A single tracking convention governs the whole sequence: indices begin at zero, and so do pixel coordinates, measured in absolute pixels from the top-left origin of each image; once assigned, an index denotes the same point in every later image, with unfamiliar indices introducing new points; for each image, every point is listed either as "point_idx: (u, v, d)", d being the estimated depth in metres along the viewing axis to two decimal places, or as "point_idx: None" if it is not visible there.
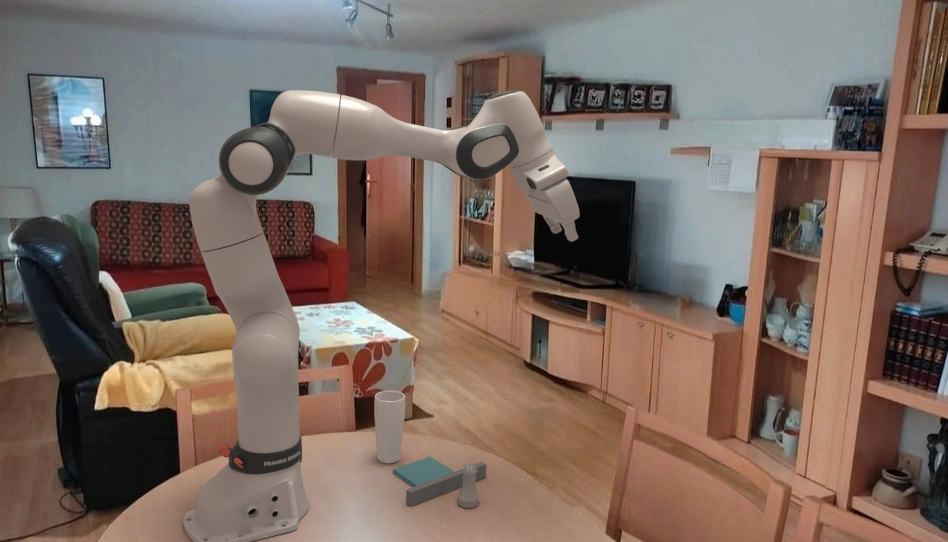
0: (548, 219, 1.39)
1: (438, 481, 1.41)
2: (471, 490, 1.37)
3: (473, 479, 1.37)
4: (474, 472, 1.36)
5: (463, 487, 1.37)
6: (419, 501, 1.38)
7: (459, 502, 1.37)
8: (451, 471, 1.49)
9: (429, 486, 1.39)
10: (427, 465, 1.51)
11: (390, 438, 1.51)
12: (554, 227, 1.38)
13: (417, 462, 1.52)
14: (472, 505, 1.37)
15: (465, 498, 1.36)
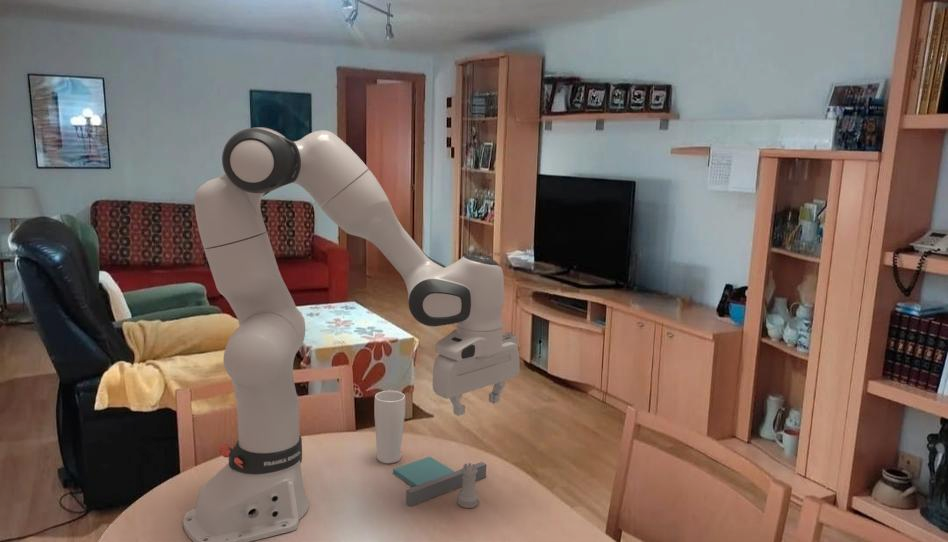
0: (495, 386, 1.38)
1: (438, 481, 1.41)
2: (471, 490, 1.37)
3: (473, 479, 1.37)
4: (474, 472, 1.36)
5: (463, 487, 1.37)
6: (419, 501, 1.38)
7: (459, 502, 1.37)
8: (451, 471, 1.49)
9: (429, 486, 1.39)
10: (427, 465, 1.51)
11: (390, 438, 1.51)
12: (490, 396, 1.38)
13: (417, 462, 1.52)
14: (472, 505, 1.37)
15: (465, 498, 1.36)
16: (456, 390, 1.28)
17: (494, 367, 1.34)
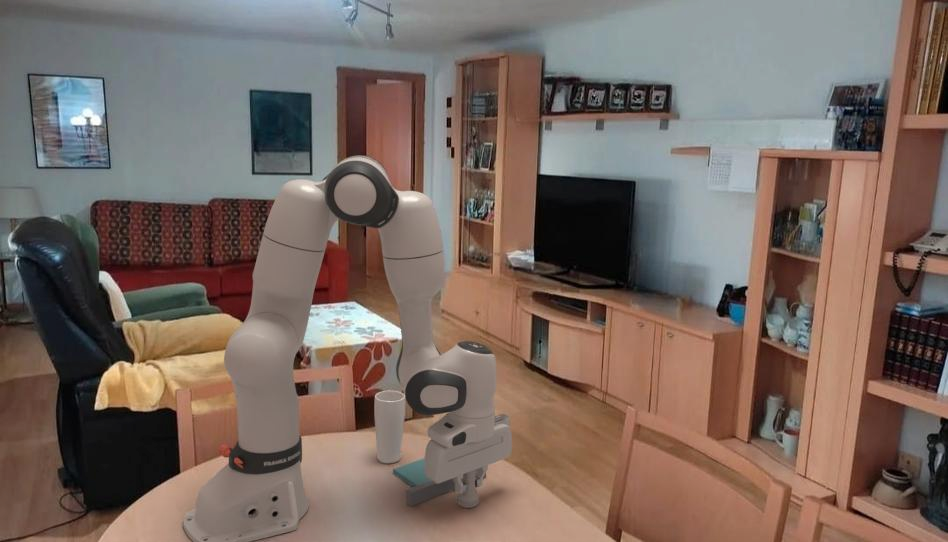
0: (478, 469, 1.40)
1: None
2: (471, 490, 1.37)
3: (473, 479, 1.37)
4: (474, 472, 1.36)
5: None
6: (419, 501, 1.38)
7: (459, 502, 1.37)
8: None
9: (429, 486, 1.39)
10: None
11: (390, 438, 1.51)
12: None
13: (417, 462, 1.52)
14: (472, 505, 1.37)
15: (465, 498, 1.36)
16: (447, 475, 1.31)
17: (486, 450, 1.37)
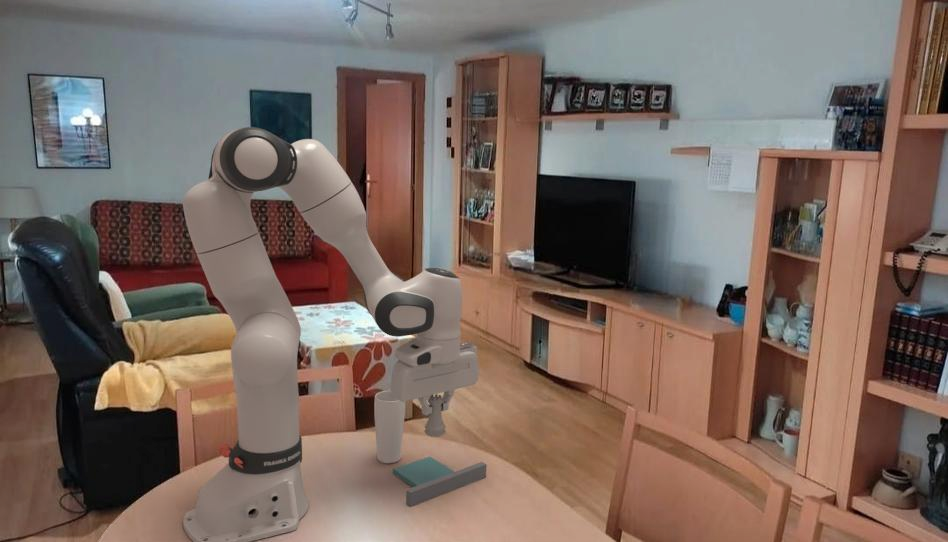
0: (445, 394, 1.45)
1: (438, 481, 1.41)
2: (437, 419, 1.42)
3: (438, 408, 1.42)
4: (439, 401, 1.42)
5: (429, 416, 1.43)
6: (419, 501, 1.38)
7: (426, 431, 1.43)
8: (451, 471, 1.49)
9: (429, 486, 1.39)
10: (427, 465, 1.51)
11: (390, 438, 1.51)
12: None
13: (417, 462, 1.52)
14: (438, 434, 1.42)
15: (431, 427, 1.42)
16: (412, 394, 1.36)
17: (452, 374, 1.42)
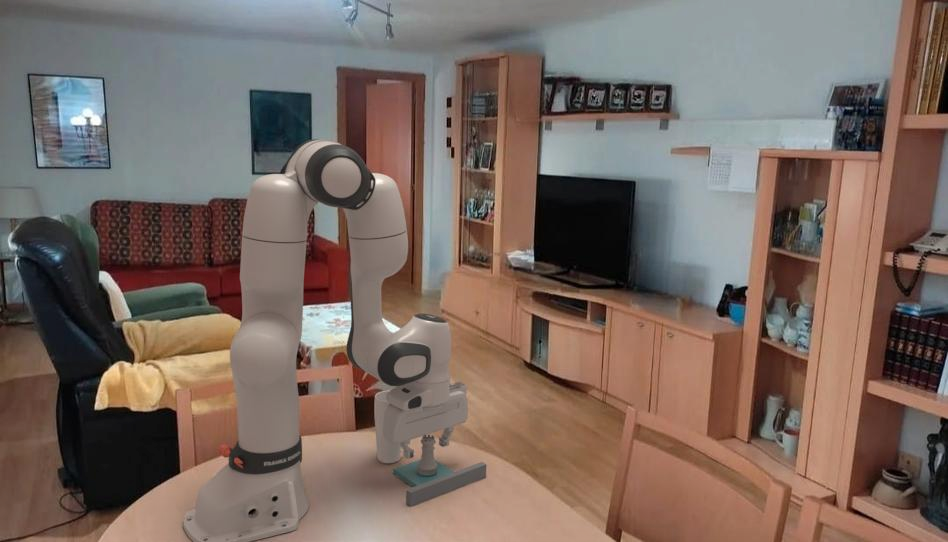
0: (445, 431, 1.51)
1: (438, 481, 1.41)
2: (429, 459, 1.46)
3: (431, 449, 1.46)
4: (432, 442, 1.46)
5: (422, 456, 1.47)
6: (419, 501, 1.38)
7: (418, 470, 1.47)
8: (451, 471, 1.49)
9: (429, 486, 1.39)
10: None
11: None
12: (440, 440, 1.50)
13: (417, 462, 1.52)
14: (430, 473, 1.46)
15: (423, 467, 1.46)
16: (404, 436, 1.40)
17: (442, 414, 1.47)
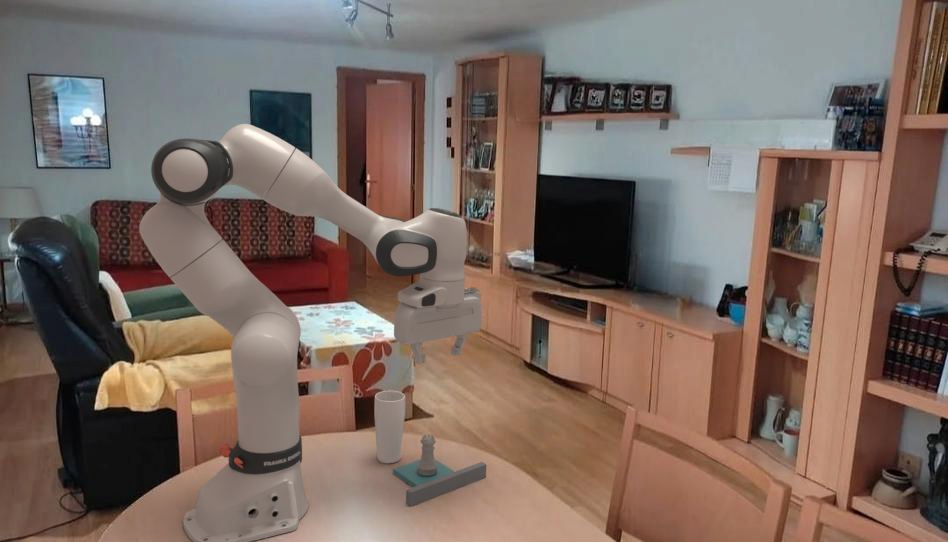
0: (458, 339, 1.43)
1: (438, 481, 1.41)
2: (429, 459, 1.46)
3: (431, 449, 1.46)
4: (432, 442, 1.46)
5: (422, 456, 1.47)
6: (419, 501, 1.38)
7: (418, 470, 1.47)
8: (451, 471, 1.49)
9: (429, 486, 1.39)
10: None
11: (390, 438, 1.51)
12: (452, 348, 1.42)
13: (417, 462, 1.52)
14: (430, 473, 1.46)
15: (423, 467, 1.46)
16: (416, 337, 1.32)
17: (456, 319, 1.38)
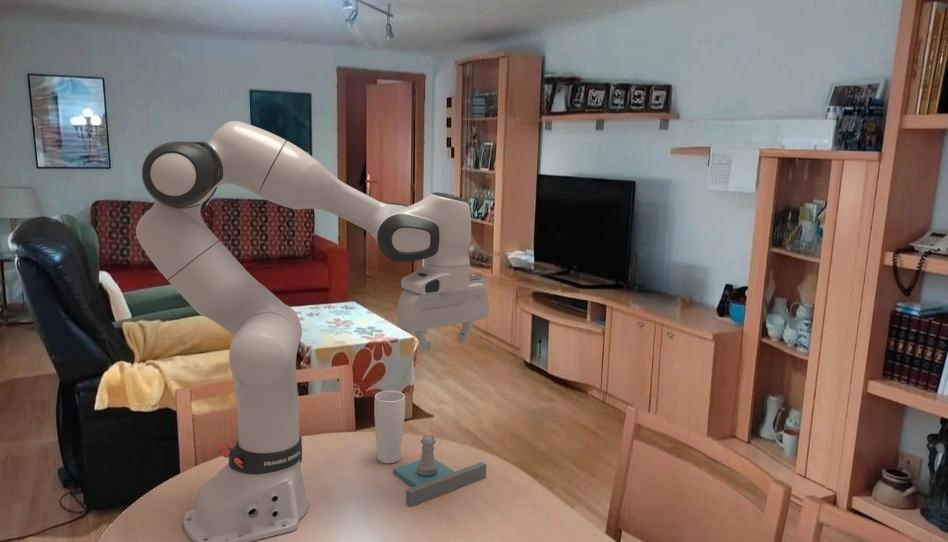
0: (464, 327, 1.40)
1: (438, 481, 1.41)
2: (429, 459, 1.46)
3: (431, 449, 1.46)
4: (432, 442, 1.46)
5: (422, 456, 1.47)
6: (419, 501, 1.38)
7: (418, 470, 1.47)
8: (451, 471, 1.49)
9: (429, 486, 1.39)
10: None
11: (390, 438, 1.51)
12: (458, 336, 1.39)
13: (417, 462, 1.52)
14: (430, 473, 1.46)
15: (423, 467, 1.46)
16: (420, 325, 1.29)
17: (461, 306, 1.35)
